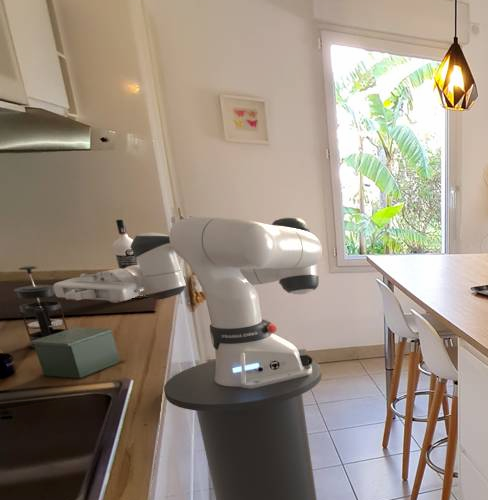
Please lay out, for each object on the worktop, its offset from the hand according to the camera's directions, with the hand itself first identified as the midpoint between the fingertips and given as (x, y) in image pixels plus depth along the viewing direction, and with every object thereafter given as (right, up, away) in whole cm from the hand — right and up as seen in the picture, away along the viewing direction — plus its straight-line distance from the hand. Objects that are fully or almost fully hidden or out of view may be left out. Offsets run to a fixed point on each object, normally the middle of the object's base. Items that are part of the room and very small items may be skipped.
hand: (70, 296), depth 141 cm
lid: (-1, -10, +2) cm, 11 cm away
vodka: (-40, +12, +78) cm, 89 cm away
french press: (-25, -11, +22) cm, 35 cm away
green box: (-1, -18, +5) cm, 19 cm away
